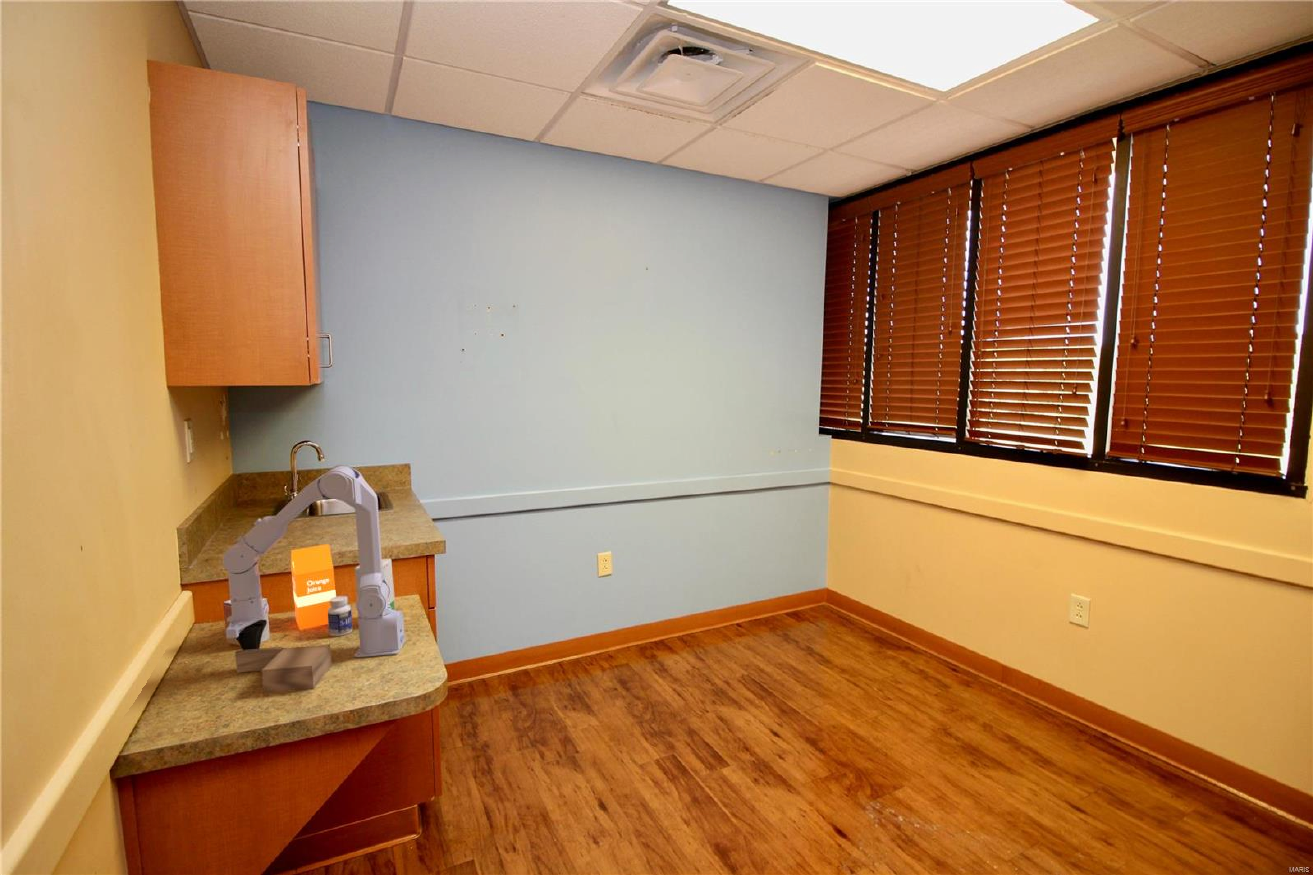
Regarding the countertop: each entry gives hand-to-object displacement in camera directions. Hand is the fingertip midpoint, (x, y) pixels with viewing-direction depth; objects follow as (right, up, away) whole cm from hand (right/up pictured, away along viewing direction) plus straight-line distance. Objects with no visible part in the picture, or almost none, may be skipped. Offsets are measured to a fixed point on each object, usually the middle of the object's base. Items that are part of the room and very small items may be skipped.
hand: (252, 655), depth 138 cm
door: (+3, -2, -1) cm, 4 cm away
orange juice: (0, 0, +26) cm, 26 cm away
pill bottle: (+11, -1, +18) cm, 21 cm away
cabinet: (+14, -3, -6) cm, 15 cm away
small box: (-10, -2, +14) cm, 17 cm away
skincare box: (+17, 0, +25) cm, 30 cm away
